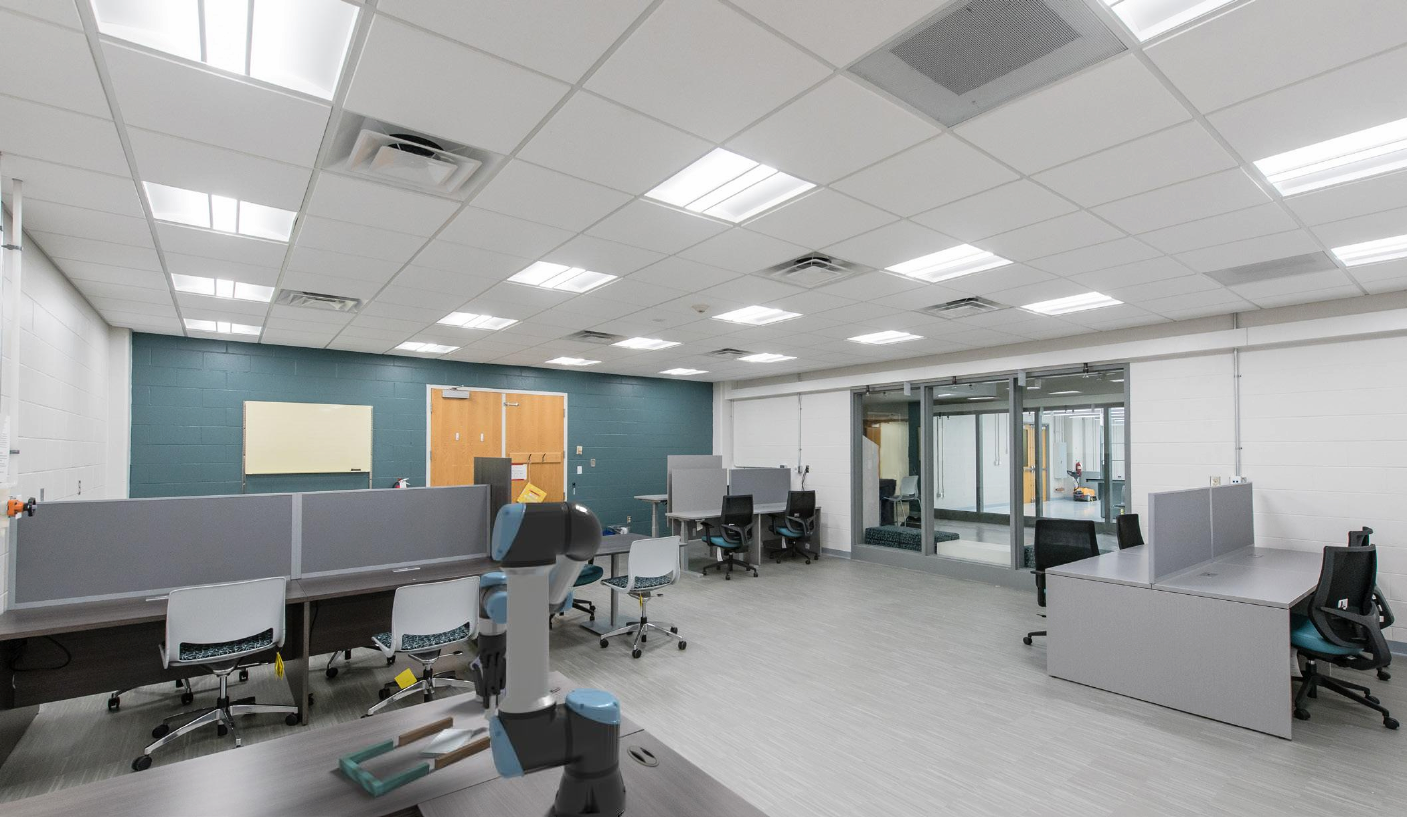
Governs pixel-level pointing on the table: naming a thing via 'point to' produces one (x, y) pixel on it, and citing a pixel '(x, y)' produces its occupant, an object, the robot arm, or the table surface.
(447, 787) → the table surface
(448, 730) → the hard drive
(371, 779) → the chute
